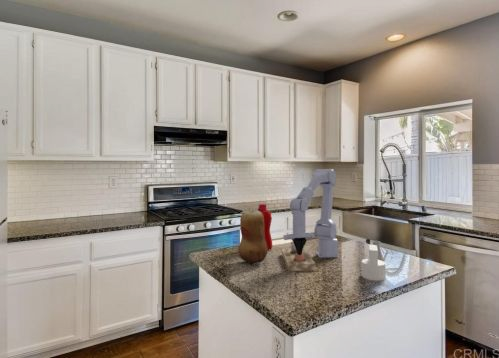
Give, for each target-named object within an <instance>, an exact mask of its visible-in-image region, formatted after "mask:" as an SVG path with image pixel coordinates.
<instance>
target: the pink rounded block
mask: <svg viewBox="0 0 499 358" xmlns="http://www.w3.org/2000/svg"><path fill="white" fill-rule="evenodd" d="M295 261H304V254H302V255H298V254H297V253H296V254H295Z"/></svg>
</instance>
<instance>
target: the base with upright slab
mask: <svg viewBox="0 0 499 358" xmlns="http://www.w3.org/2000/svg"><path fill="white" fill-rule="evenodd" d="M368 255H369V256H368V258H363V259H362V260H361V277H362V278H364V279H366V280H370V281H378V282H379V281H383V280H386V262H383V261H381V260H378V249H377V245H374V244H368Z"/></svg>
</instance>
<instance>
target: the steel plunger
mask: <svg viewBox="0 0 499 358" xmlns="http://www.w3.org/2000/svg"><path fill="white" fill-rule="evenodd" d="M290 244H291V245H290V246H291V247H290V249H291V252H292V253H297V251H296V247H295V245H294V242H293V241H292V242H290Z"/></svg>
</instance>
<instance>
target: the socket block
mask: <svg viewBox="0 0 499 358" xmlns="http://www.w3.org/2000/svg"><path fill="white" fill-rule="evenodd" d="M295 254H296V253H292V252H291V248H285V249H284V248H282V249H281V257H282V259H283V261H285V262H284V264H285V267H286V269H287V271H288V272H297V271H298V272H299V271H303V272H304V271H305V272H308V271H316V262H315V261H314V260H313V258H312V257H311V255H310V254H309V252H308V251H307V249H306V248H303V251H302V254H304V261H295Z"/></svg>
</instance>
